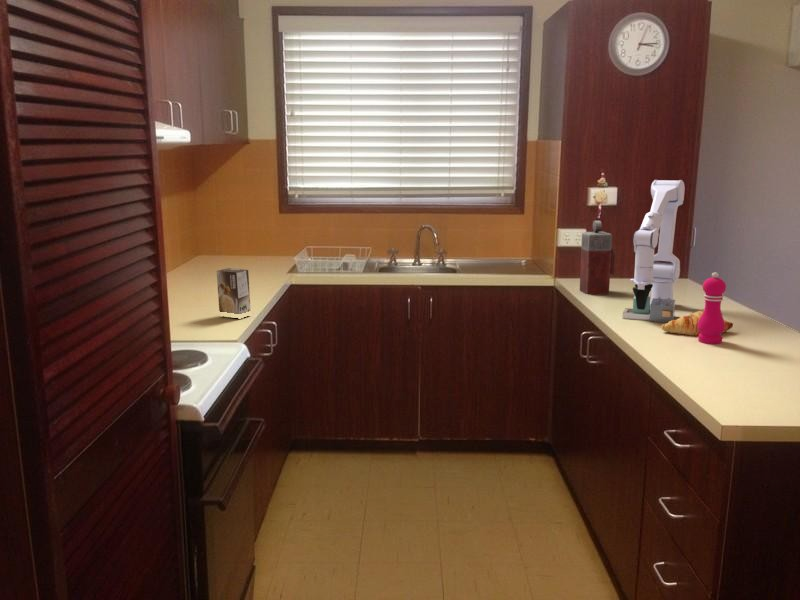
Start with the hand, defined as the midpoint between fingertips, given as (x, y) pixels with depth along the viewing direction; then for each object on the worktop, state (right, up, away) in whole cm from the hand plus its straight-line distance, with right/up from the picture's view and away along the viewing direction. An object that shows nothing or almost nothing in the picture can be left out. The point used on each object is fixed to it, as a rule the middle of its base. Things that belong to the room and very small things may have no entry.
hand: (641, 307), depth 233 cm
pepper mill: (+9, -10, -31) cm, 34 cm away
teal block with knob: (0, -2, 0) cm, 2 cm away
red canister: (-2, +5, +44) cm, 45 cm away
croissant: (+9, -8, -20) cm, 23 cm away
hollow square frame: (+2, -3, -1) cm, 4 cm away
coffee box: (-136, -3, +7) cm, 136 cm away
